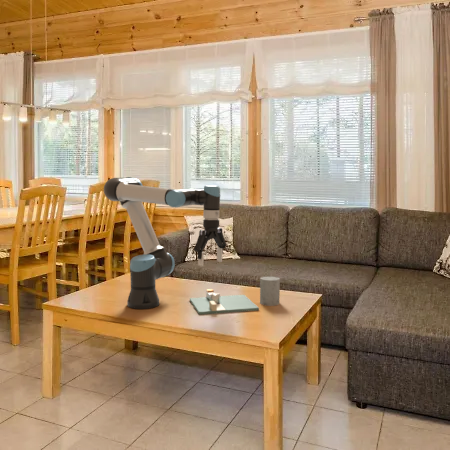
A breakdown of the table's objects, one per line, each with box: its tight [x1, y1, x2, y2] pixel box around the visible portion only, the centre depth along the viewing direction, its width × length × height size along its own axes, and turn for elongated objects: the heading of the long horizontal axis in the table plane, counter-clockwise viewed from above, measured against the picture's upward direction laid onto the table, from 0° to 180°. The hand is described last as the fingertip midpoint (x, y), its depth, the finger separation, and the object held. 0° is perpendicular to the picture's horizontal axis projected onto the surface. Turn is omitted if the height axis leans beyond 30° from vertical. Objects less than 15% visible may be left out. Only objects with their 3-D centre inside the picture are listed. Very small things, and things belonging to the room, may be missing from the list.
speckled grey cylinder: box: [259, 275, 281, 307], centre depth 237 cm, size 10×10×12 cm
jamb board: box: [189, 294, 260, 315], centre depth 234 cm, size 28×24×4 cm
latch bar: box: [205, 288, 221, 304], centre depth 237 cm, size 14×4×4 cm, turn 14°
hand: (210, 263), depth 231 cm, fingers open, 13 cm apart
